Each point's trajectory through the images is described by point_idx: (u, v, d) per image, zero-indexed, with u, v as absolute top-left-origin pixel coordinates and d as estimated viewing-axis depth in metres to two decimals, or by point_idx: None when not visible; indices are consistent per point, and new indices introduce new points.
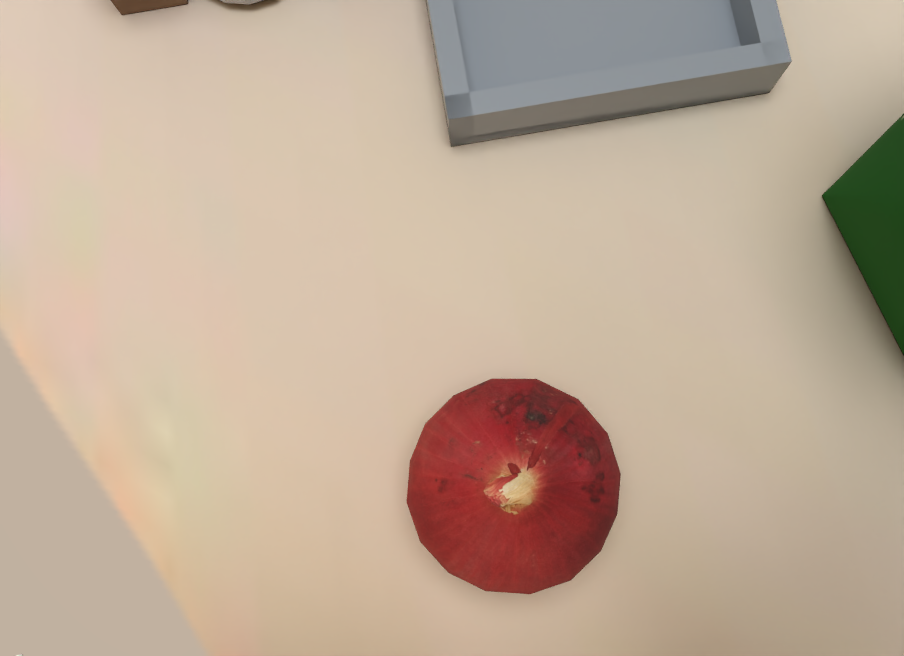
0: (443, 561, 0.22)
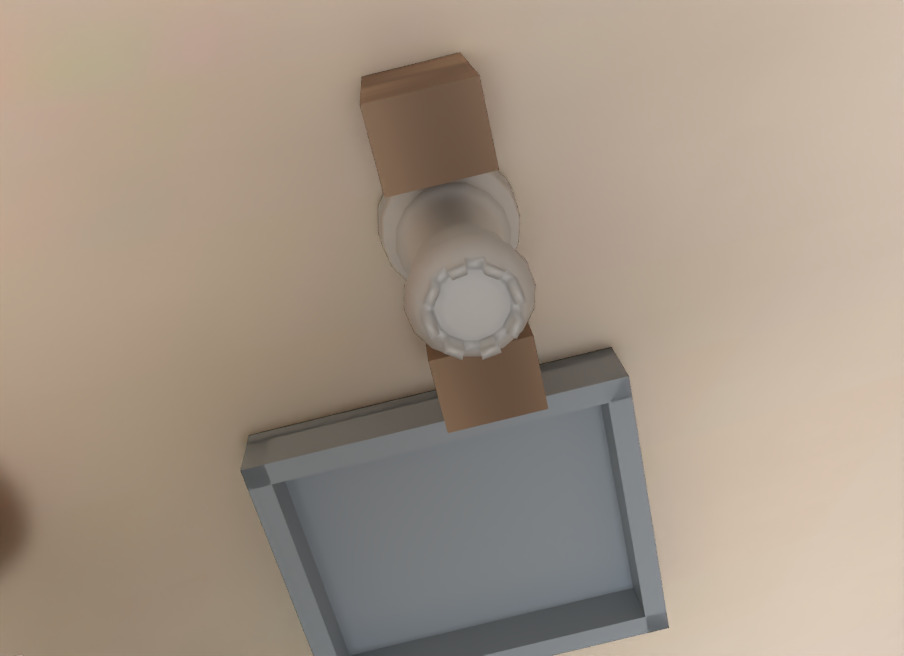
0: None
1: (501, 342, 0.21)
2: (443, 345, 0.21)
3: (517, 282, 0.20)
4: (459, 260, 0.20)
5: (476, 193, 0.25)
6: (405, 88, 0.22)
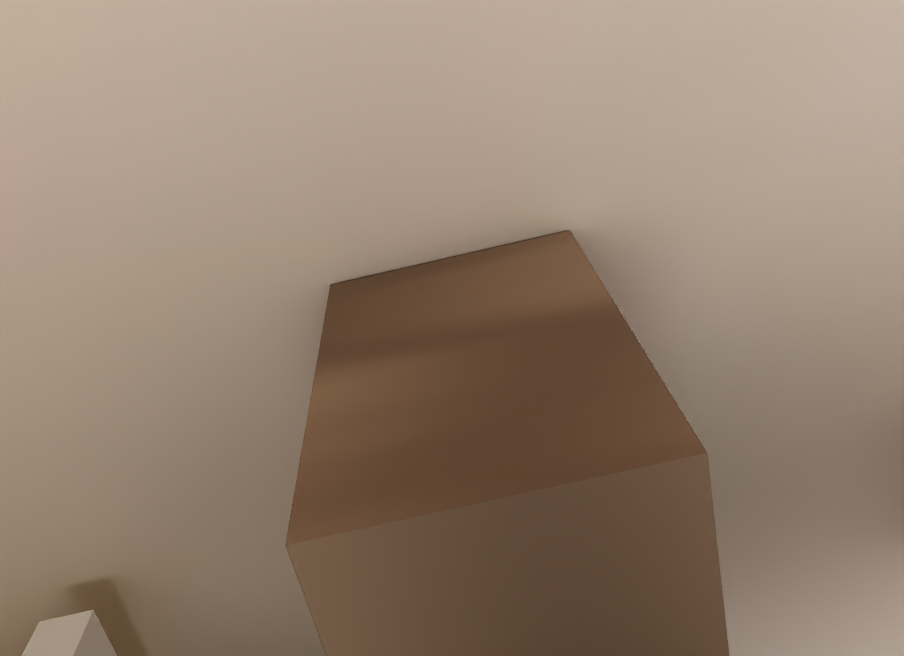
0: None
1: None
2: None
3: None
4: None
5: None
6: (443, 450, 0.07)
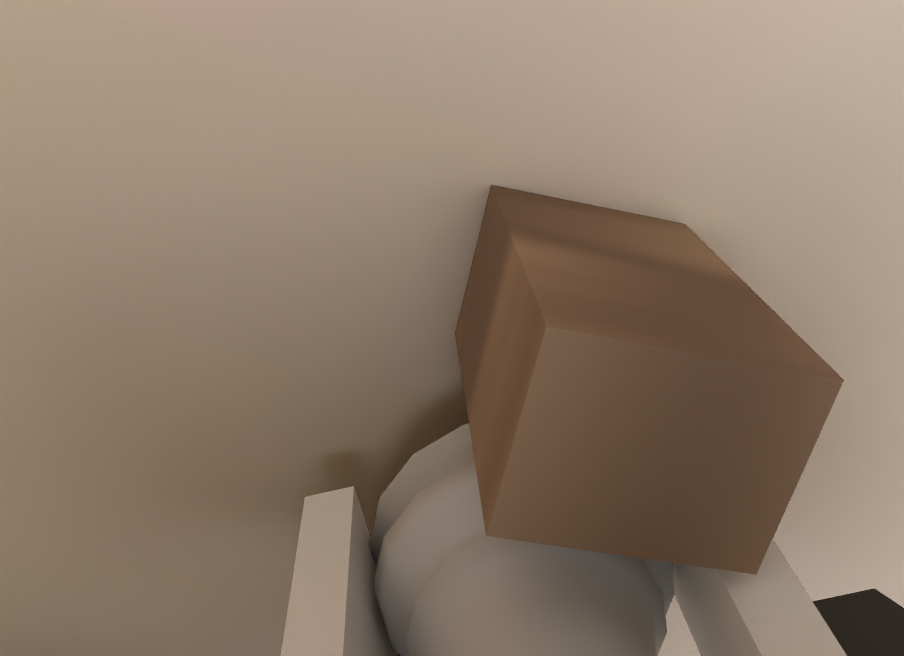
0: None
1: None
2: None
3: None
4: None
5: (615, 563, 0.11)
6: (646, 315, 0.09)
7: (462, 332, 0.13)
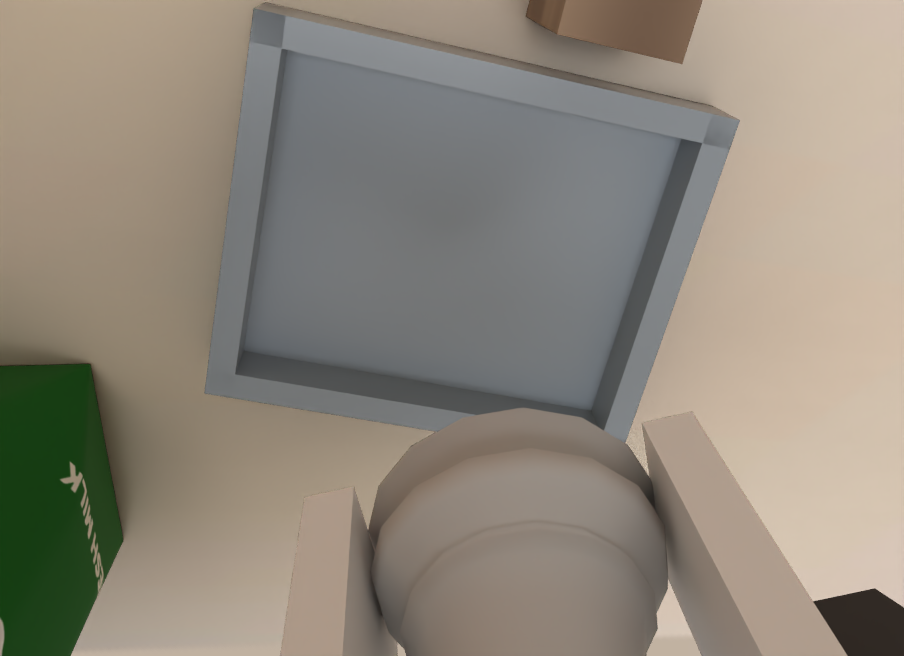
0: None
1: None
2: None
3: None
4: None
5: (606, 563, 0.11)
6: None
7: None
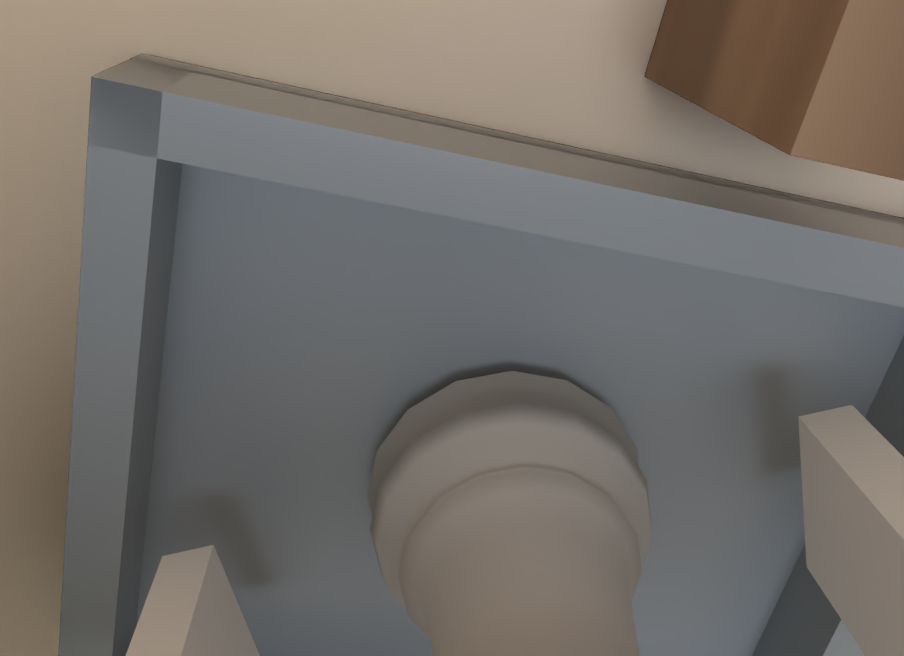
0: None
1: None
2: None
3: None
4: None
5: (591, 504, 0.12)
6: None
7: None
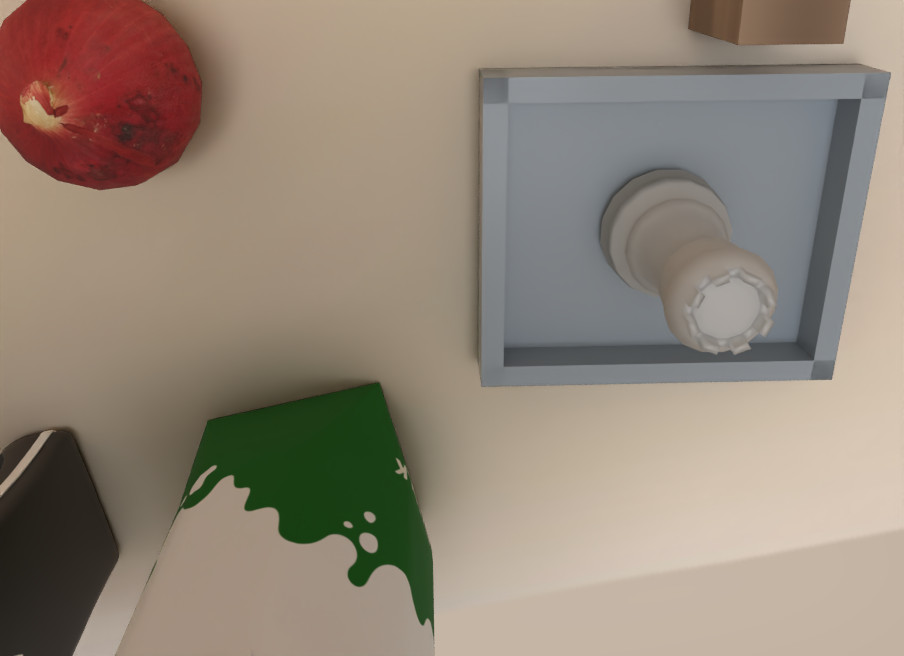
0: (11, 15, 0.24)
1: (747, 340, 0.25)
2: (698, 342, 0.24)
3: (769, 289, 0.24)
4: (721, 270, 0.23)
5: (702, 209, 0.28)
6: None
7: None
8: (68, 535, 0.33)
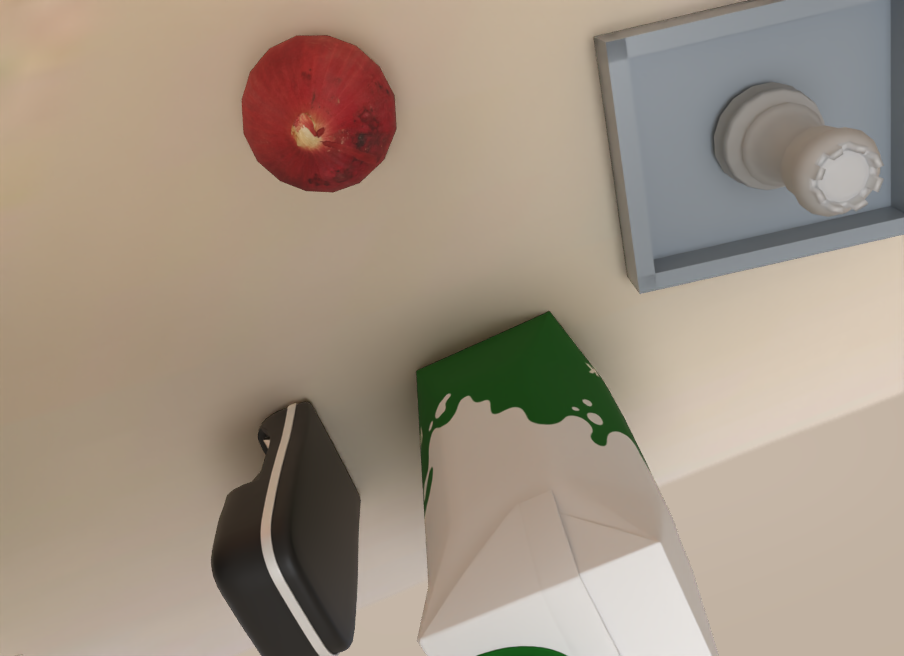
0: (256, 71, 0.31)
1: (863, 198, 0.31)
2: (825, 208, 0.31)
3: (875, 153, 0.30)
4: (834, 147, 0.30)
5: (798, 108, 0.35)
6: None
7: None
8: (331, 480, 0.40)
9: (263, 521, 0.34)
